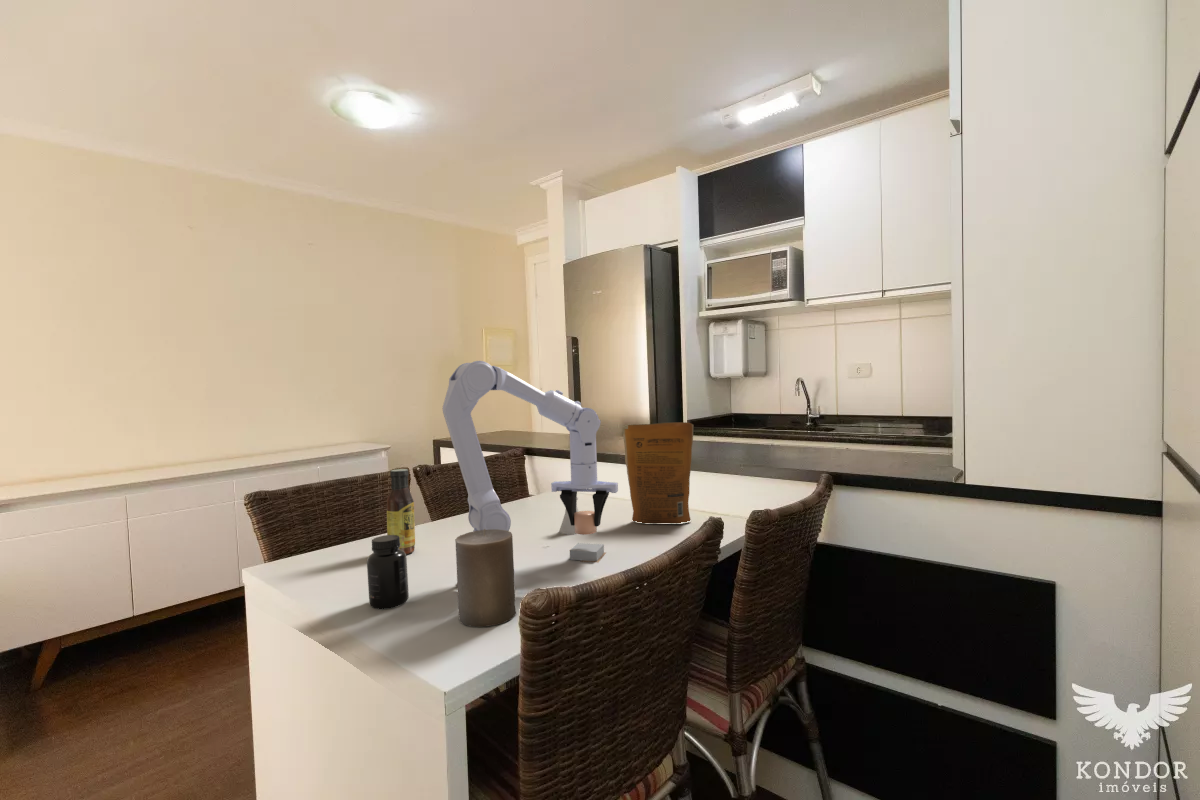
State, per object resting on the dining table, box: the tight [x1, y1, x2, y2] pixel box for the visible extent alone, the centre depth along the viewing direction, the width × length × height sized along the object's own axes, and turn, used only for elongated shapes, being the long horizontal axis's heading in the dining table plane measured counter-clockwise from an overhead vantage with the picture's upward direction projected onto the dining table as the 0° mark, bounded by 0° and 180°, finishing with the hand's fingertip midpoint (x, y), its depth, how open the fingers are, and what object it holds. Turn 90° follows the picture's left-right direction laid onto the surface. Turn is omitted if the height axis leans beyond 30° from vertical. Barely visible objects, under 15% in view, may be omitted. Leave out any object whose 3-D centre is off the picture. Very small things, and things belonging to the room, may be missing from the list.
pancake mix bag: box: [622, 421, 694, 523], centre depth 153 cm, size 7×19×28 cm, turn 79°
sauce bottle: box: [386, 468, 416, 555], centre depth 133 cm, size 7×6×20 cm
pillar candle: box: [454, 529, 517, 628], centre depth 95 cm, size 10×10×15 cm
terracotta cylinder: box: [574, 510, 598, 535], centre depth 121 cm, size 5×5×4 cm
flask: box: [558, 496, 579, 535], centre depth 143 cm, size 7×7×10 cm
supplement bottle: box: [366, 534, 410, 610], centre depth 102 cm, size 7×7×12 cm
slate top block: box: [569, 542, 605, 561], centre depth 121 cm, size 6×6×2 cm
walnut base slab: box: [579, 551, 607, 564], centre depth 121 cm, size 7×7×2 cm
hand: (585, 524), depth 121 cm, fingers closed on terracotta cylinder, 5 cm apart
